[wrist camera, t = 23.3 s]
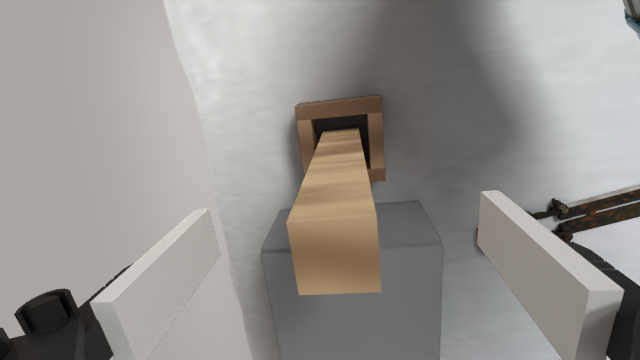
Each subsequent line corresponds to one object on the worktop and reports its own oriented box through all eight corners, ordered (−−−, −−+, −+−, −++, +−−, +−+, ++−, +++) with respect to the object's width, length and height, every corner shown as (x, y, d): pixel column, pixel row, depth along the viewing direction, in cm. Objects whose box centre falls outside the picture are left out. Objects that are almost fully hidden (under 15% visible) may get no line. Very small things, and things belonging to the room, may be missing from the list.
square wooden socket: (300, 103, 35) (294, 106, 31) (378, 94, 34) (381, 97, 30) (309, 175, 38) (305, 186, 34) (381, 169, 37) (385, 180, 33)
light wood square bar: (324, 128, 36) (286, 222, 13) (357, 125, 35) (376, 216, 13) (328, 160, 37) (299, 295, 15) (360, 157, 37) (381, 292, 14)
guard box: (280, 210, 40) (259, 251, 31) (419, 201, 38) (442, 242, 29) (306, 365, 49) (296, 434, 40) (419, 365, 47) (437, 438, 38)
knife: (704, 165, 34) (718, 169, 33) (698, 215, 36) (711, 221, 35) (473, 212, 38) (477, 217, 37) (479, 255, 40) (483, 261, 39)
